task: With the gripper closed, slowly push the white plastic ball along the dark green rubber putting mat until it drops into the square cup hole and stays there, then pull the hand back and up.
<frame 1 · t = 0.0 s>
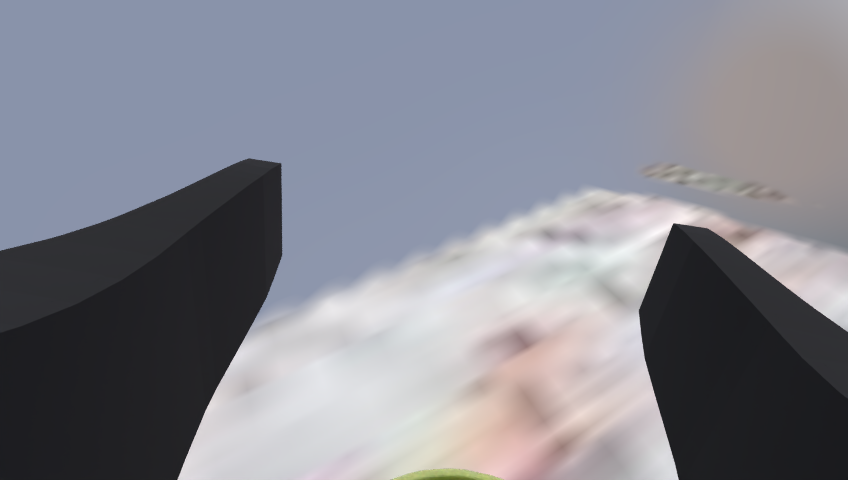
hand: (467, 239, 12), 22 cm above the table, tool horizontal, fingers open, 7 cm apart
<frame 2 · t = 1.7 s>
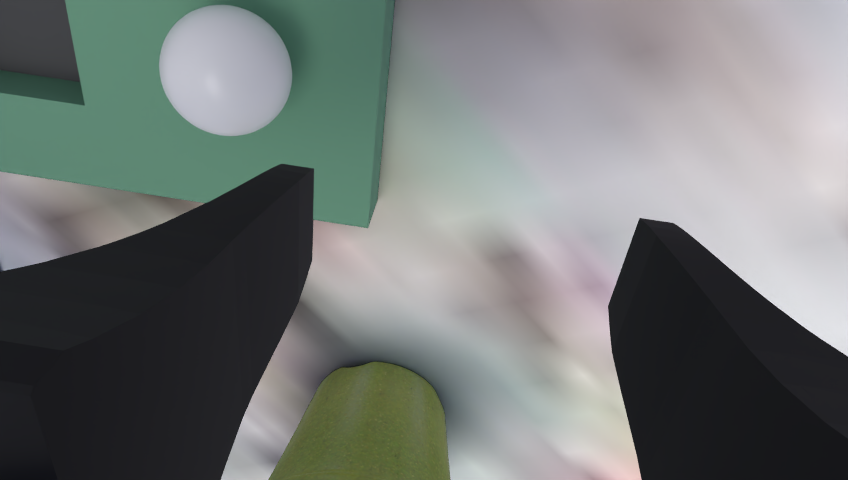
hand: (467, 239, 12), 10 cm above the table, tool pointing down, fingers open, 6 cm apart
putting mat: (90, 9, 21), on the table
plant pot: (381, 402, 30), on the table
ball: (227, 72, 17), point 4 cm above the table, touching putting mat
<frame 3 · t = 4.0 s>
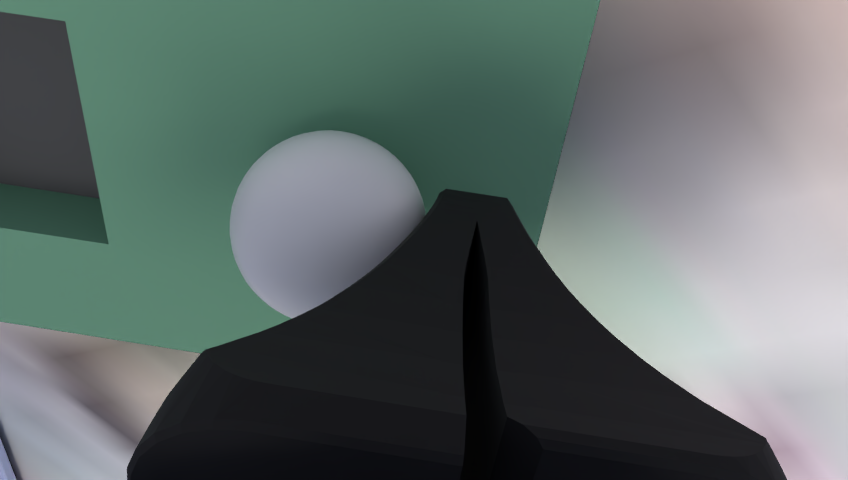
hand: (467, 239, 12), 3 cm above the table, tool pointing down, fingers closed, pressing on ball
putting mat: (115, 106, 15), on the table
ball: (330, 228, 11), point 4 cm above the table, touching gripper, putting mat
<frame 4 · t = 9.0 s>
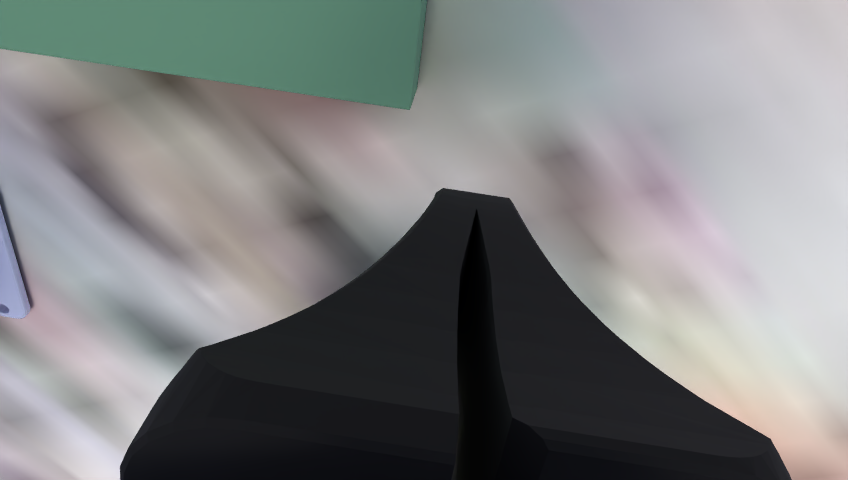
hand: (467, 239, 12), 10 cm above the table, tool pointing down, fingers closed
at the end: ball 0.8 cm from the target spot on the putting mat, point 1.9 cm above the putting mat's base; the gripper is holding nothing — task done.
